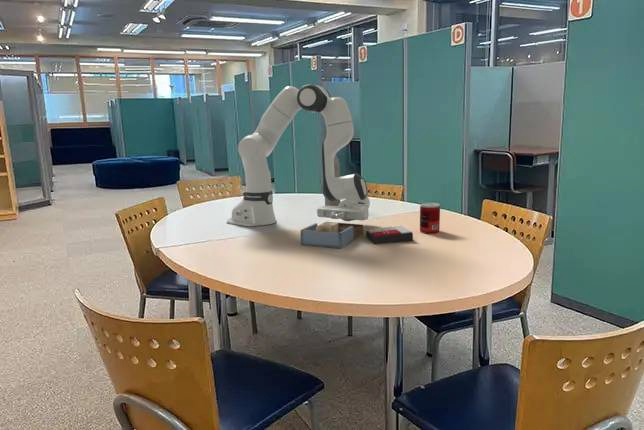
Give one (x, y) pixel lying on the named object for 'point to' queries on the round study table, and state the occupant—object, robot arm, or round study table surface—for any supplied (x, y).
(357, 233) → the walnut plate
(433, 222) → the canned food
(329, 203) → the thermos bottle
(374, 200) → the round study table surface
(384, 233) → the calculator
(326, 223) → the oak block
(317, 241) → the tray
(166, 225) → the round study table surface
